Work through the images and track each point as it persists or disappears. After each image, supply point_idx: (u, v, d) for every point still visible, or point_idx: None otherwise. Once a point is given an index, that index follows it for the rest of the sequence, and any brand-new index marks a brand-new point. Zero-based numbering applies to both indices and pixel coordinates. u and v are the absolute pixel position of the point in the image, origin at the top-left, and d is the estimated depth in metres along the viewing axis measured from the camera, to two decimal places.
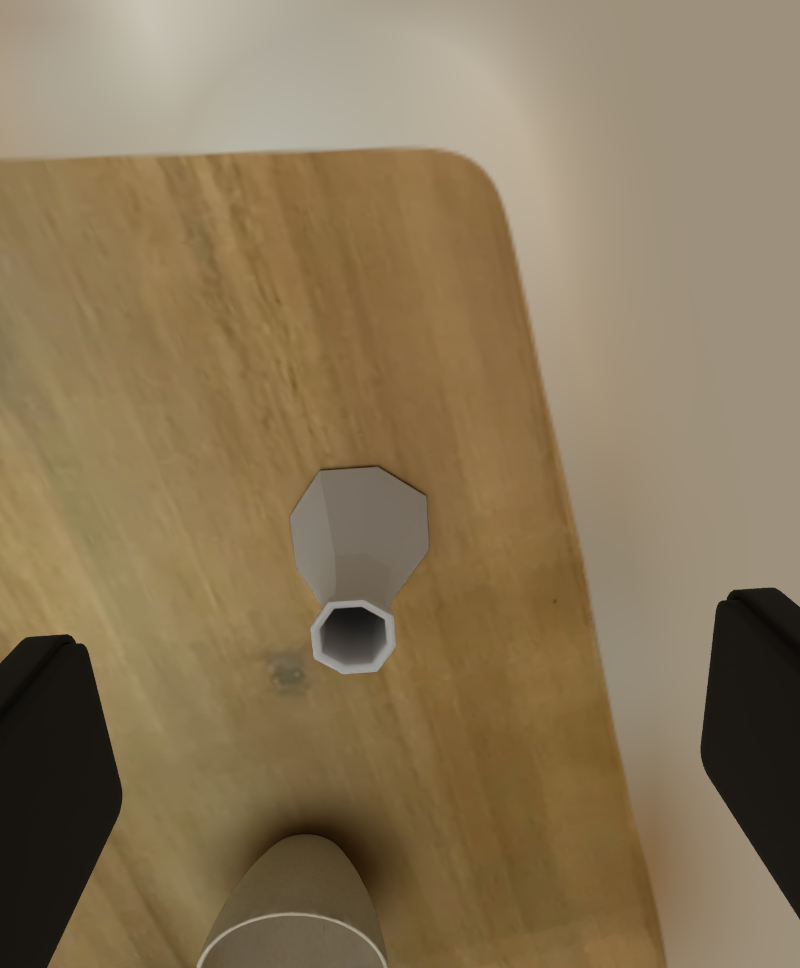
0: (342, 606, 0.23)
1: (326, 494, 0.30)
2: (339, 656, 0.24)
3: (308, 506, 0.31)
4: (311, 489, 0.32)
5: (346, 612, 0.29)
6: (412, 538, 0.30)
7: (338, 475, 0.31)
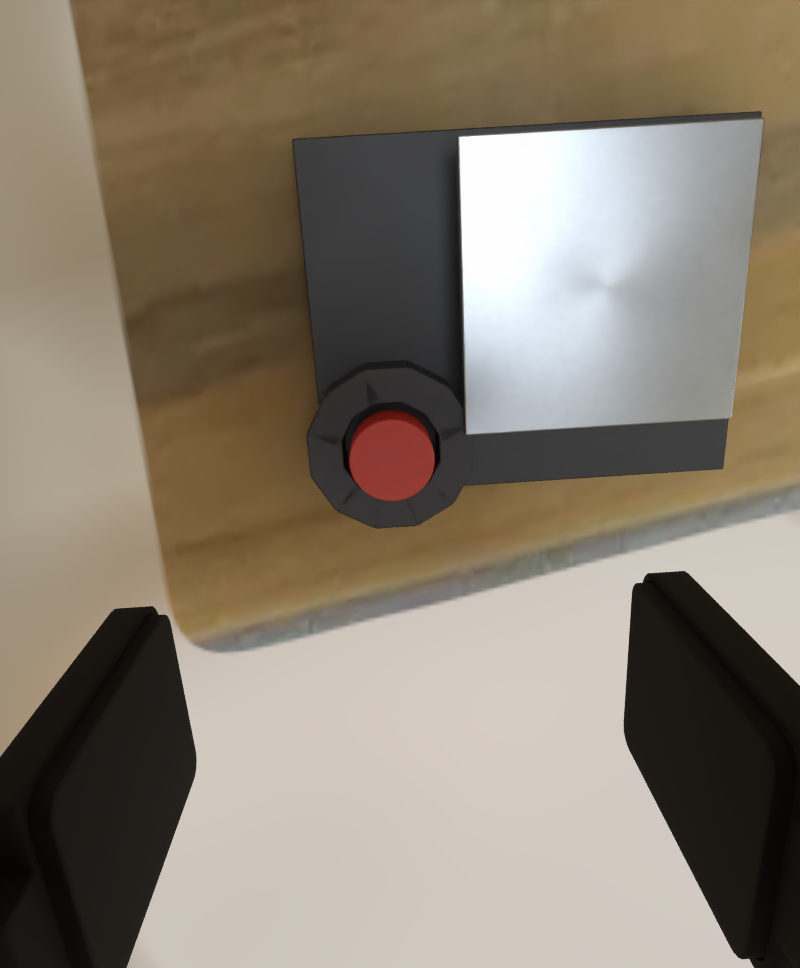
0: None
1: None
2: None
3: None
4: None
5: None
6: None
7: None
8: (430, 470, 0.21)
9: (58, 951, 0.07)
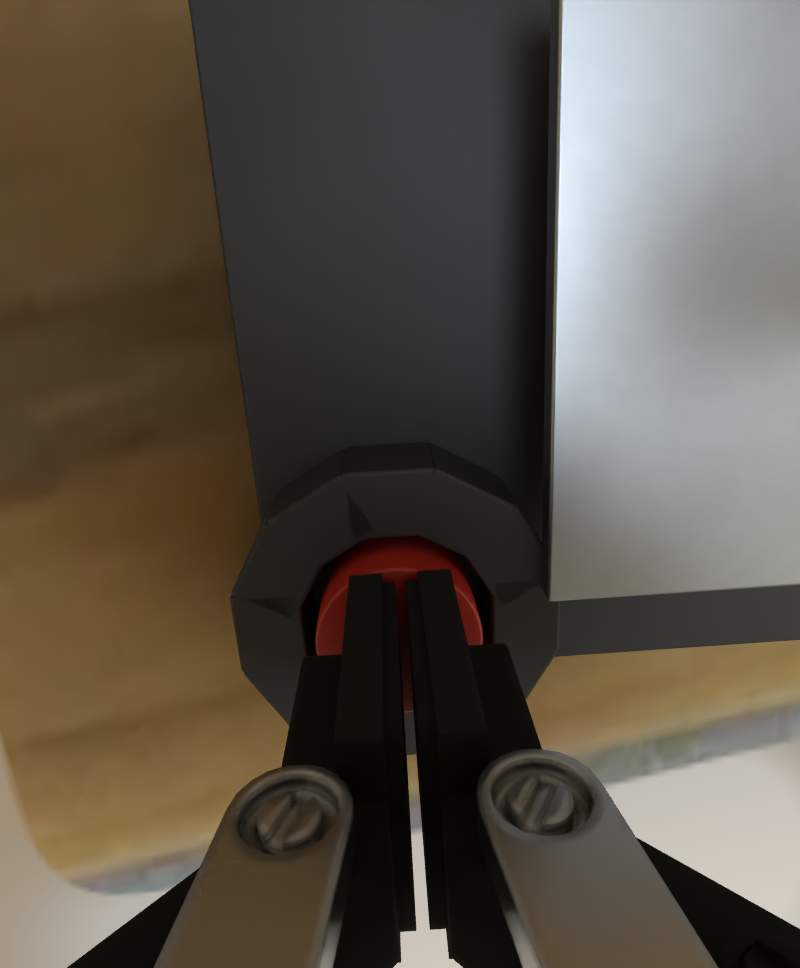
0: None
1: None
2: None
3: None
4: None
5: None
6: None
7: None
8: None
9: (394, 876, 0.07)
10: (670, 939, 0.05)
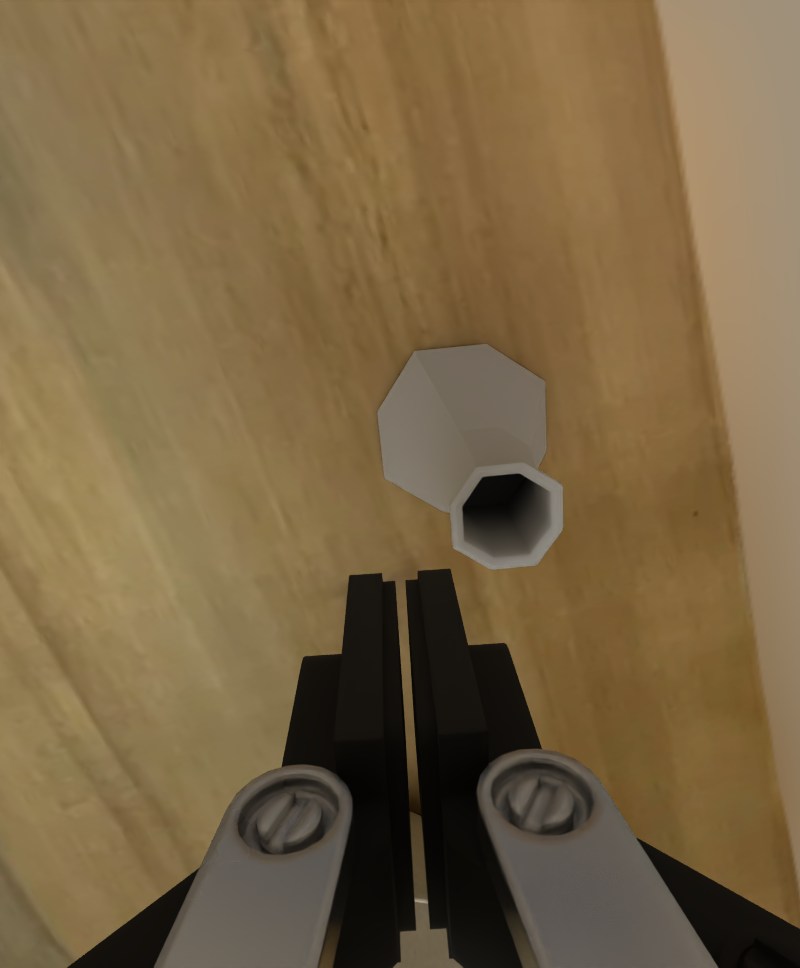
0: (495, 472, 0.17)
1: (429, 373, 0.24)
2: (484, 547, 0.18)
3: (404, 392, 0.25)
4: (405, 374, 0.26)
5: None
6: (539, 424, 0.24)
7: (439, 353, 0.25)
8: None
9: (393, 875, 0.07)
10: (670, 939, 0.05)
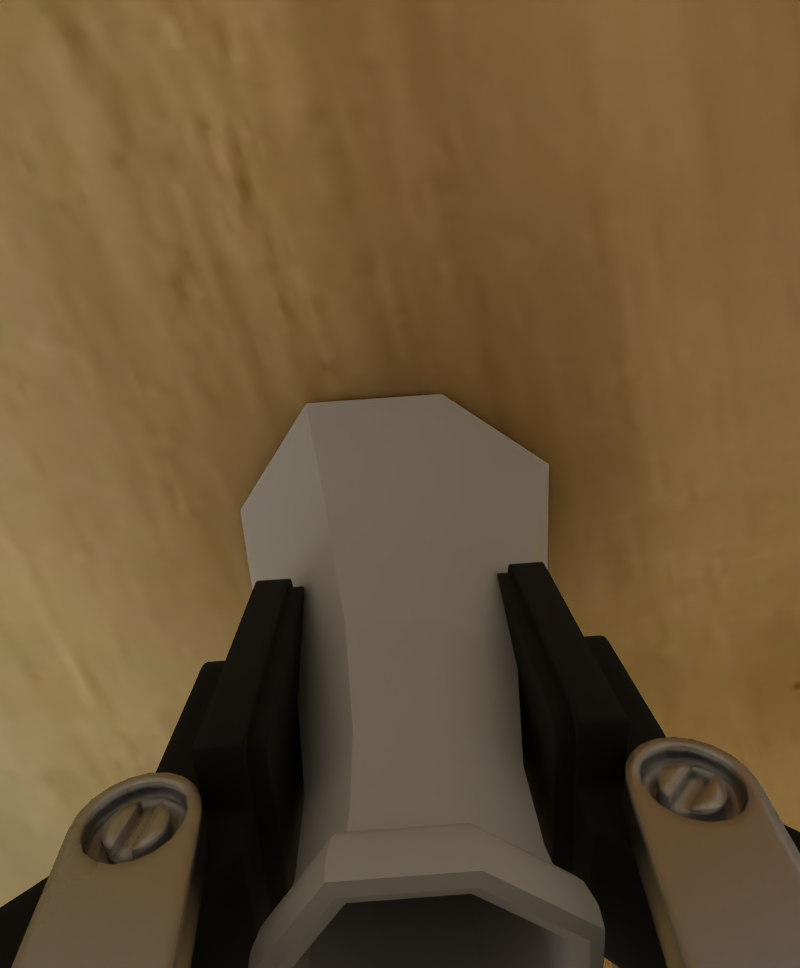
0: (387, 897, 0.05)
1: (322, 454, 0.12)
2: None
3: (280, 484, 0.13)
4: (288, 446, 0.14)
5: None
6: None
7: (351, 412, 0.13)
8: None
9: (262, 883, 0.07)
10: None
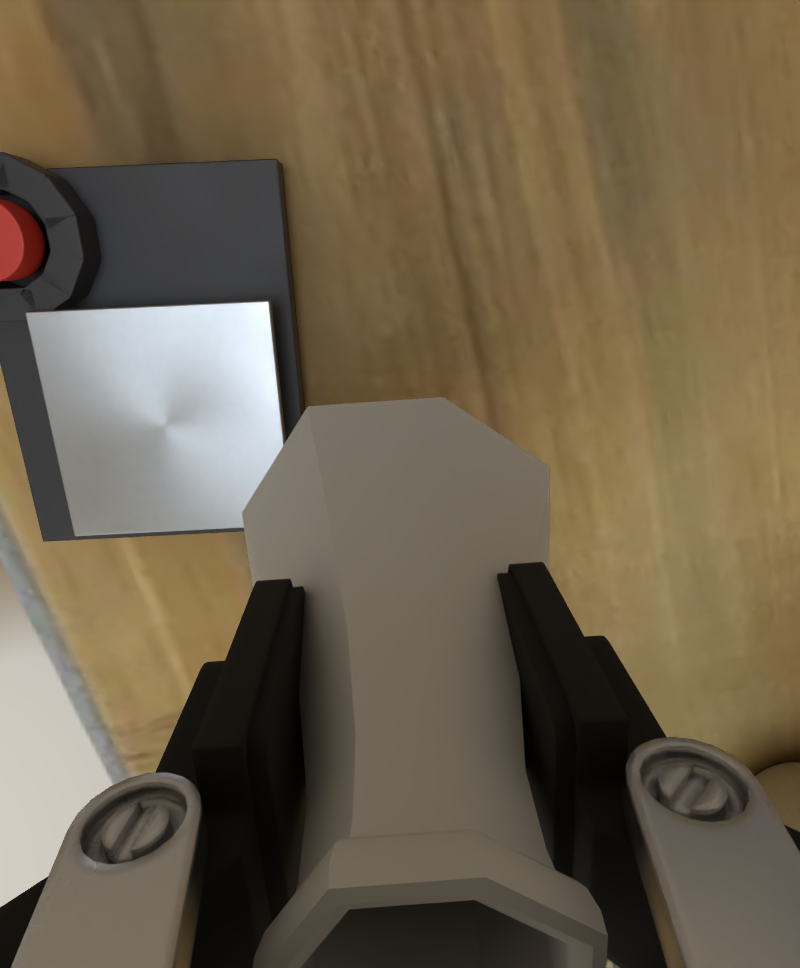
0: (390, 903, 0.05)
1: (324, 458, 0.12)
2: None
3: (281, 487, 0.13)
4: (290, 449, 0.14)
5: None
6: None
7: (353, 415, 0.13)
8: None
9: (262, 883, 0.07)
10: None
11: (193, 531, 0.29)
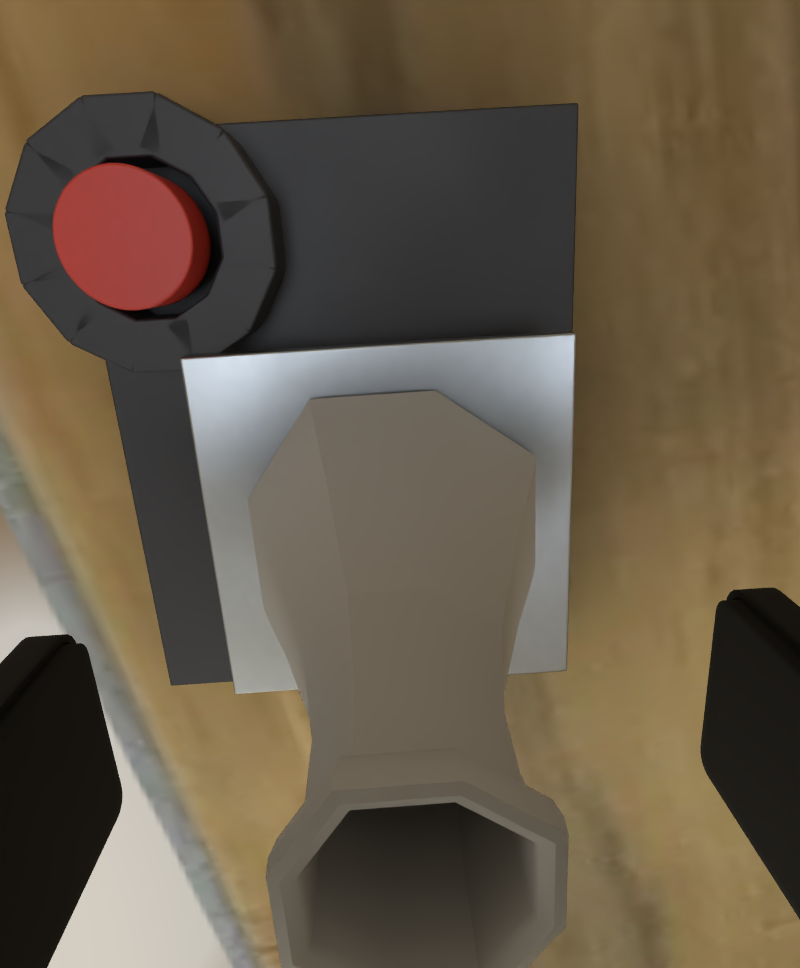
0: (384, 804, 0.06)
1: (324, 446, 0.13)
2: (367, 940, 0.07)
3: (286, 474, 0.14)
4: (293, 439, 0.15)
5: None
6: (522, 545, 0.13)
7: (351, 407, 0.14)
8: (115, 303, 0.13)
9: None
10: None
11: None
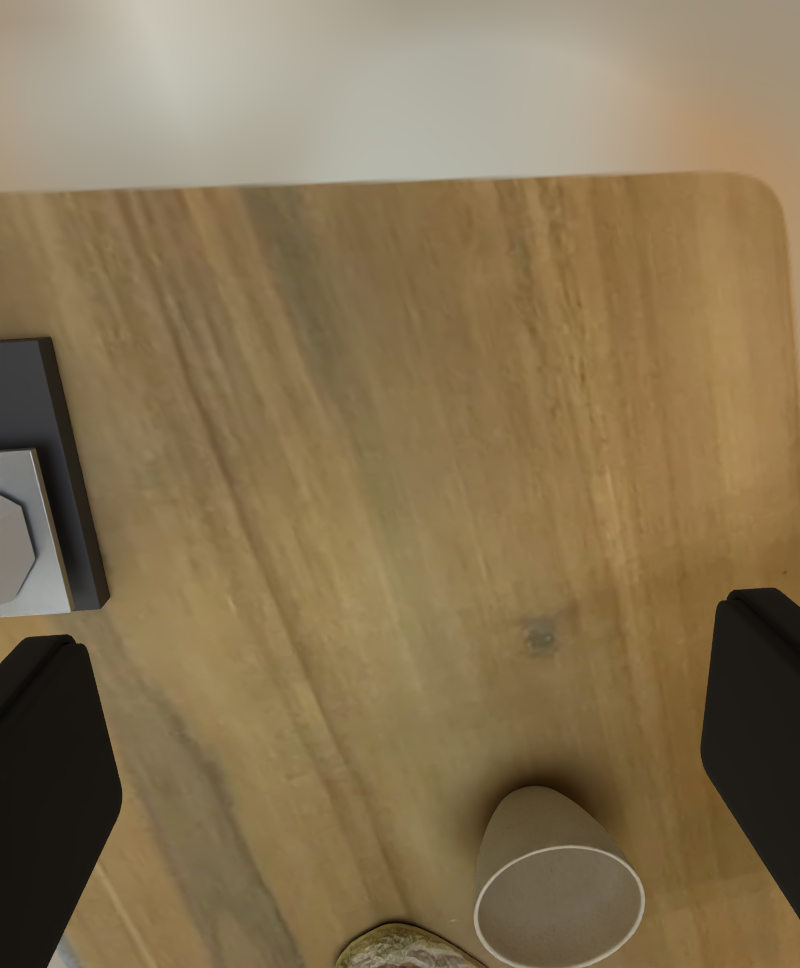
0: None
1: None
2: None
3: None
4: None
5: None
6: None
7: None
8: None
9: None
10: None
11: None
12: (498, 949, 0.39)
